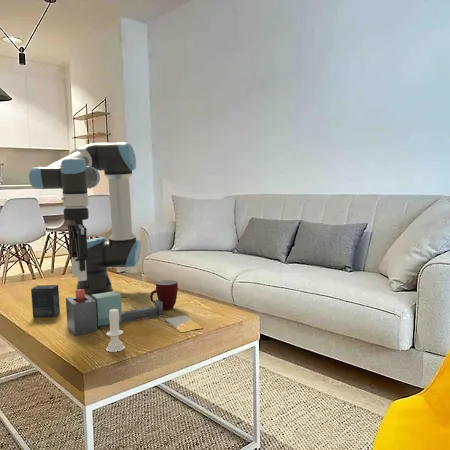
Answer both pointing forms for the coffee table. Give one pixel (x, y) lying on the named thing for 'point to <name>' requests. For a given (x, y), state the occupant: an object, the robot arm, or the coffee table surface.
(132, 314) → the rail
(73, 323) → the gray button box
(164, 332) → the coffee table surface
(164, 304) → the mug
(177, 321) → the smartphone
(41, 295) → the box
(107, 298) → the block
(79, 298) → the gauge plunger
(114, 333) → the candle
